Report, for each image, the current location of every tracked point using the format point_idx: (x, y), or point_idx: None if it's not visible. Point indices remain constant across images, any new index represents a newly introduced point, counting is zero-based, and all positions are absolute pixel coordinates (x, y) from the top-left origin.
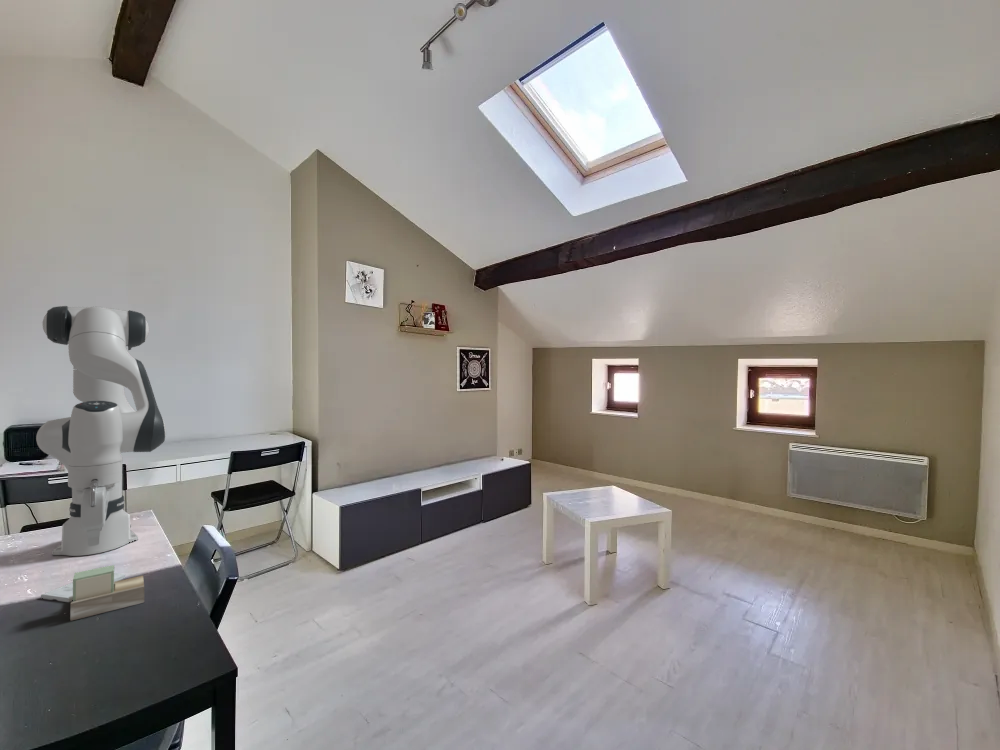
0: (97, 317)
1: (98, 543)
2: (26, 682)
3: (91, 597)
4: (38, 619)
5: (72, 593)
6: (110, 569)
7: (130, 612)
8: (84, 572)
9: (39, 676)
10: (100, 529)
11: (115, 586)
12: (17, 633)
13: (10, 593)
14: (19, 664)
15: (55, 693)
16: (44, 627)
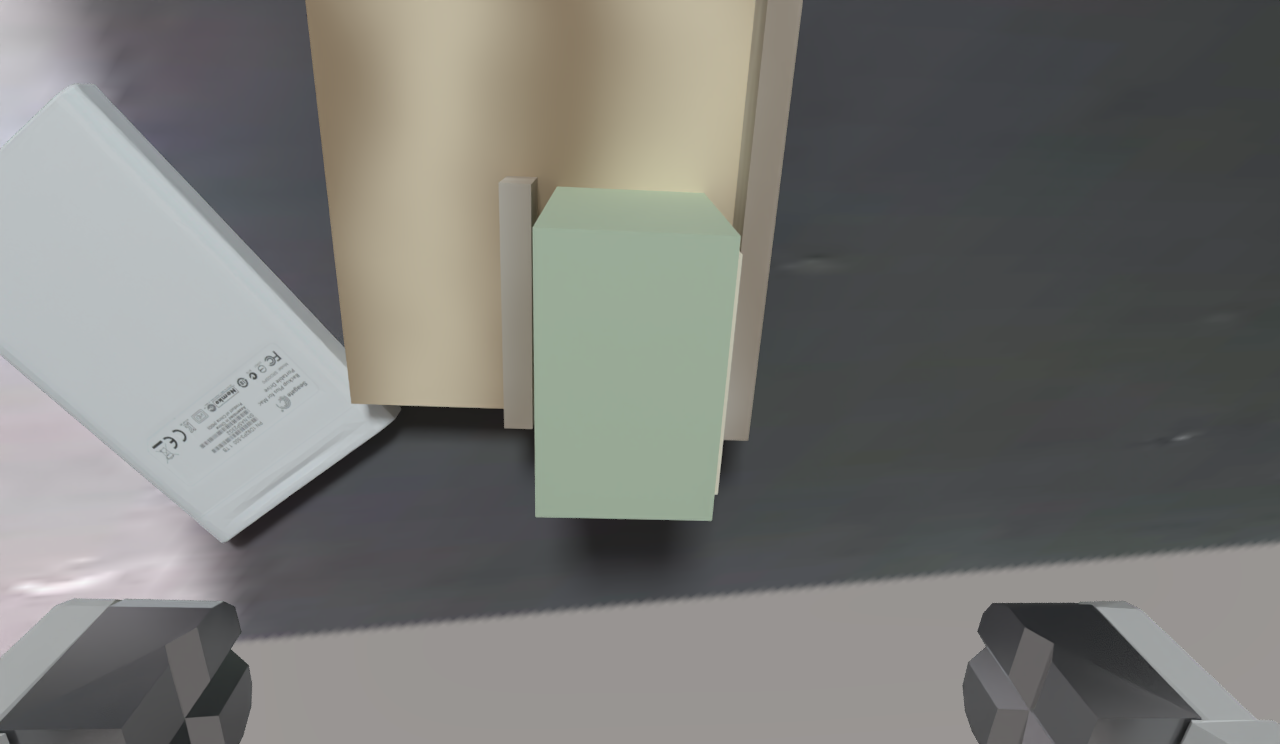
0: None
1: (1135, 614)
2: (1274, 500)
3: (734, 336)
4: None
5: (320, 406)
6: (668, 262)
7: (880, 88)
8: (578, 454)
9: (1270, 465)
10: (211, 633)
11: (453, 172)
12: (695, 573)
13: None
14: (1067, 535)
15: None
16: None
